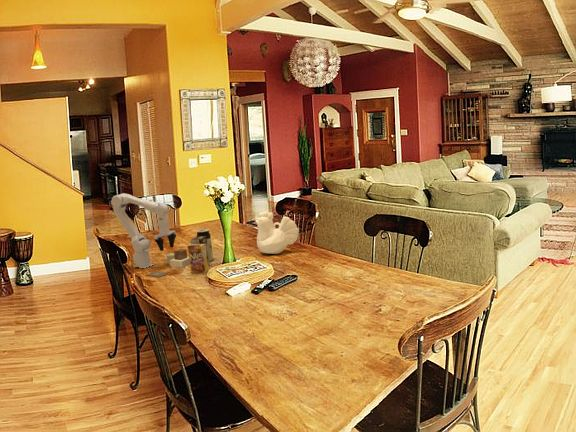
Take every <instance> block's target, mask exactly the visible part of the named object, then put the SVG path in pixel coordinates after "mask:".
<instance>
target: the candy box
mask: <svg viewBox="0 0 576 432" xmlns="http://www.w3.org/2000/svg"><path fill="white" fill-rule="evenodd" d="M187 256H188V257H189V262H190V265H189V268H190V270H189V271H190V273H191V274H193V273H194V274H195V273H197V274H198V273H199V274H201V273H203V274H205V273H208V272H209V264H208V263H207V254H206V245H205V244H191V243H190V244H188V245H187Z"/></svg>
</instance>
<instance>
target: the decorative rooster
mask: <svg viewBox="0 0 576 432" xmlns="http://www.w3.org/2000/svg"><path fill="white" fill-rule="evenodd" d="M273 219H274V213H273V212H272V211H271V212H269V211H268V210H267V211H265V210H264V211H261V212H259V213H258V218H257V219H256V220H255V221H254V222H255V223H256V224H257V236H256V246H257V248H258V250H259V251H260V252H262V253H263V254H273V255H275V254H276V255H277V254H280V253H282V252H283V251H284V250H285V249H286V247H287V246H290V245H293V244H294V243H295V242H296V241H297V240H298V237H299V234H300V229H299V227H298V226H297V224H296V222H295V221H294V220H293V219H291V218H290V217H288V216H283V217H282V219H281V221H280V222H279V221H278V222H274V221H273ZM276 226H278V227H276Z"/></svg>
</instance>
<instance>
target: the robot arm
mask: <svg viewBox="0 0 576 432" xmlns="http://www.w3.org/2000/svg"><path fill="white" fill-rule="evenodd" d="M110 204H111V206H112V210H113V213H114V215H115V217H116V218H117V219H118V221H119V222H120V224H121V225H122V227H123V229H124V230H125V231H126V233H127V234H128V236H129V237H130V239H131V241H130V243H131V245H132V249H133V250H134V253H133V254H132V260H133V266H137V267H139V268H138V269H142V268H144V269H147V268H150V267H153V266H154V265H155V264H154V263H151V257H150V256H151V255H150V246H151V242H150V240H149V239H148V238H146V237H145V235H143V234H141V233H140V232H139V230H138V229H137V228H136V226H135V225H134V223H133V222H132V219H130V217H129V215H128V214H127V213H126V207H127V206H128V204H133V205H136V206H140V207H143V208H144V209H143V210H146V211H148V212H151V213H155V215H156V216H157V223H158V231H159V233H157V234H155V235H153V239H154V242H155V243H156V244H157V247H158V248H159V251H162V252H164V240H165V239H164V238H165V237H167V239H168V243H169V248H174V245H175V241H176V237H177V234H176V233H177V232H176V230H174V229H173V230H170V222H169V216H168V213H169V210H170V209H169V206H168V205H167V204H166V203H160V202H157V201H153V199H147V200H145V199H141V198H139V197H137V196H134V195H132V194H129V193H125V192H123V193H120V194H117V195H113V197H111V201H110ZM152 265H153V266H152ZM149 266H150V267H149ZM146 267H147V268H146Z"/></svg>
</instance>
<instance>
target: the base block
mask: <svg viewBox="0 0 576 432" xmlns="http://www.w3.org/2000/svg"><path fill="white" fill-rule="evenodd" d="M169 262H170V264H169V267H170V268H182V269H183V268H185V267H187V266H190V262H189V256H187V258H186V259H183V260H175V259H172V260H169Z"/></svg>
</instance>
